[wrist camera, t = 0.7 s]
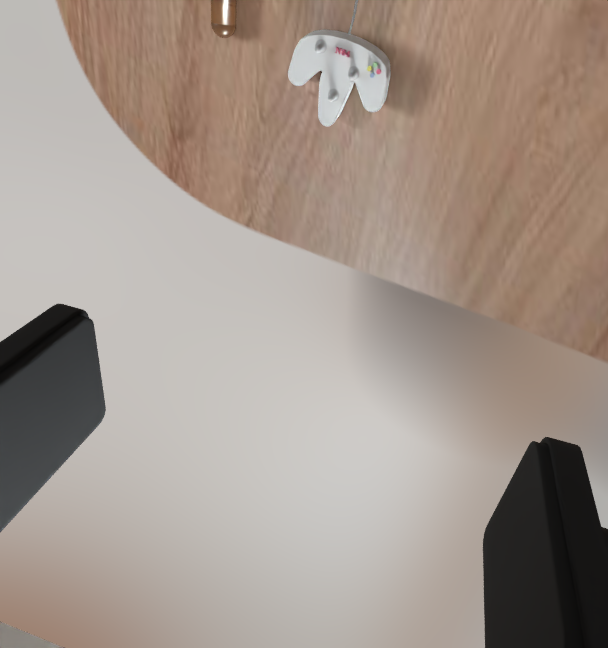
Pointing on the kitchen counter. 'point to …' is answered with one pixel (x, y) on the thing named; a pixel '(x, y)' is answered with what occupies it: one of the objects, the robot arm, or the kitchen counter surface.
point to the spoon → (223, 17)
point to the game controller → (341, 70)
